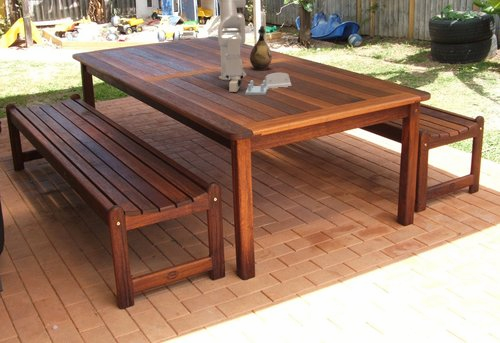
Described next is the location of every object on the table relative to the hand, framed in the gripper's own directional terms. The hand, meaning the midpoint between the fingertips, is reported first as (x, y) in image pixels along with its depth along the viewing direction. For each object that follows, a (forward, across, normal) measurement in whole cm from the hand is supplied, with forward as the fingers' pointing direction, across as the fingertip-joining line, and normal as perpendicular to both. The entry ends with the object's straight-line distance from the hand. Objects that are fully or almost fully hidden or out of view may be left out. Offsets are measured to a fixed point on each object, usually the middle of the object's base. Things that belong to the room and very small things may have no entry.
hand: (235, 85), depth 433 cm
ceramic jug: (+4, +8, +69) cm, 70 cm away
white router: (+3, +26, +11) cm, 28 cm away
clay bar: (+2, 0, 0) cm, 2 cm away
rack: (+3, +14, -4) cm, 15 cm away
